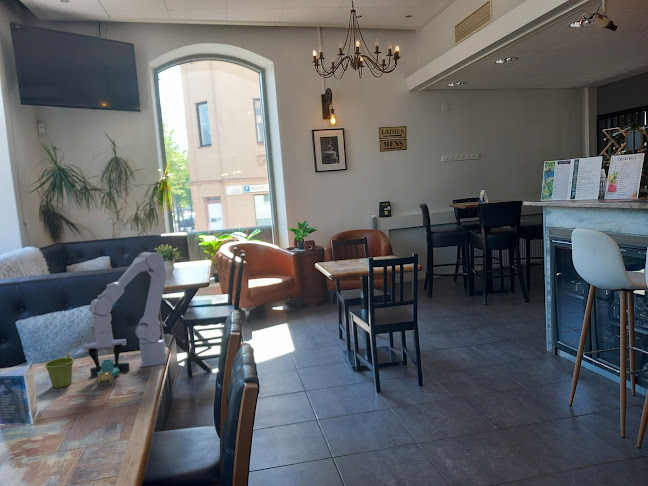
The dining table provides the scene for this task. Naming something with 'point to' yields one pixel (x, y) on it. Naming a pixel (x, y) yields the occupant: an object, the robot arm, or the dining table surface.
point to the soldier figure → (67, 354)
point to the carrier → (108, 374)
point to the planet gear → (108, 367)
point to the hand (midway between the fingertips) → (107, 366)
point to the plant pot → (60, 371)
